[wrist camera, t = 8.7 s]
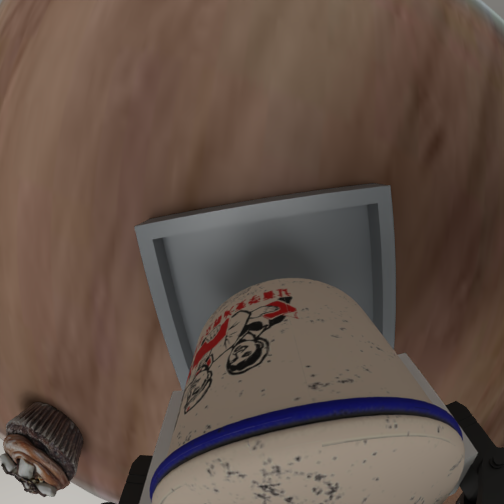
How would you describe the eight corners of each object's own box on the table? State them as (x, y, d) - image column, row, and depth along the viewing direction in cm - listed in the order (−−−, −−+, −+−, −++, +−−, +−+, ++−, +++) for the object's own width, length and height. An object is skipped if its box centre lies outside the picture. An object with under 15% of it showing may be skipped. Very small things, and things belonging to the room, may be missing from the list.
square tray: (372, 183, 21) (390, 185, 18) (378, 370, 25) (390, 390, 22) (149, 219, 21) (134, 226, 18) (199, 399, 25) (194, 422, 22)
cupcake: (105, 448, 28) (77, 511, 18) (62, 455, 29) (35, 506, 19) (48, 388, 26) (3, 447, 16) (13, 404, 27) (-25, 451, 17)
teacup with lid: (257, 229, 13) (298, 517, 2) (408, 325, 14) (547, 494, 3) (143, 409, 15) (81, 586, 4) (276, 464, 17) (289, 622, 5)
